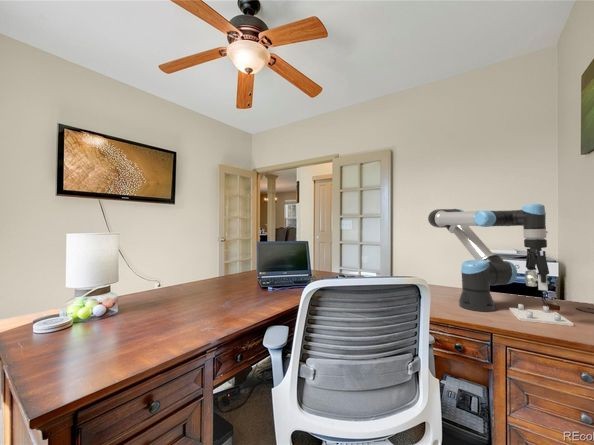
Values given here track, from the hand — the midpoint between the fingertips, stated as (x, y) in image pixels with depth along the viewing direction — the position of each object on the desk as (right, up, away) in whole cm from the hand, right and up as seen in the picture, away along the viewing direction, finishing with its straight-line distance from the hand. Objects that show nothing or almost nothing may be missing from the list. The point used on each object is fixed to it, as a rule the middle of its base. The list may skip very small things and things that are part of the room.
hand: (537, 287), depth 116 cm
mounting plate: (0, -13, 0) cm, 13 cm away
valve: (0, -1, 0) cm, 1 cm away
